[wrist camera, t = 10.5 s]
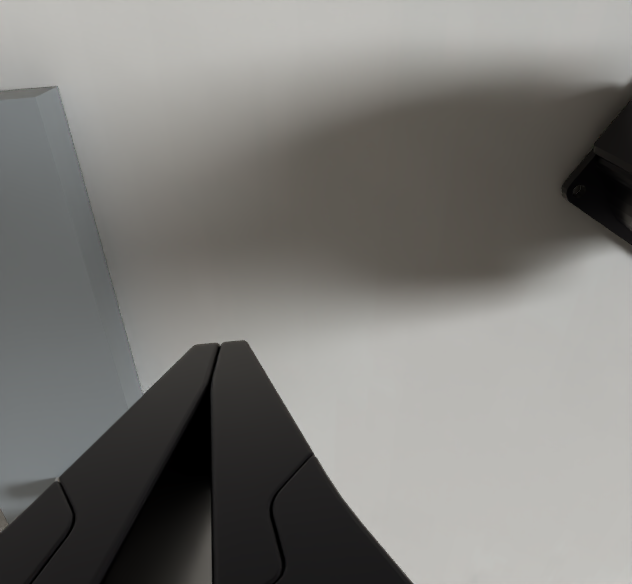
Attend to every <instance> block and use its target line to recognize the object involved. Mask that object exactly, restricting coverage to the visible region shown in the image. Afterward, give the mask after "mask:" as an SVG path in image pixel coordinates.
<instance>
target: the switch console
mask: <svg viewBox="0 0 632 584" xmlns="http://www.w3.org/2000/svg"><path fill="white" fill-rule="evenodd" d="M142 396H143V394H142V390H141V386H140V383H139V379H138V375H137V372H136V368H135V365H134V361H133V357H132V354H131V350H130V347H129V343H128V339H127V336H126V332H125V329H124V325H123V321H122V318H121V314H120V310H119V307H118V303H117V300H116V296H115V292H114V289H113V285H112V282H111V278H110V274H109V271H108V267H107V263H106V260H105V256H104V253H103V249H102V245H101V242H100V238H99V235H98V231H97V227H96V224H95V220H94V217H93V213H92V209H91V206H90V202H89V198H88V195H87V191H86V188H85V184H84V180H83V177H82V173H81V170H80V166H79V162H78V159H77V155H76V152H75V148H74V144H73V141H72V137H71V133H70V130H69V126H68V123H67V119H66V115H65V112H64V108H63V105H62V101H61V97H60V94H59V90H58V86H57V87H44V88H31V89H18V90H6V91H0V508H1V510H2V512H3V514H4V516H5V518H6V520H7V522H8V524H10V523H11V522H12V521H13V520H14V519H15V518H16V517H18V516H19V515H20V514H21V513H22V512H23V511H24V510H25V509H26V508H27V507H28V506H29V505H30V504H31V503H33V502H34V501H35V500H36V499H37V498H38V497H39V496H40V495H41V494H42V493H43V492H44V491H45V490H46V489H47V488H48V487H49V486H50V485H51V484H52V483H53V482H55V481H58V482H59V480H58V479H59V477H60V476H61V475H62V474H63V473H64V472H65V471H66V470H67V469H68V468H69V467H70V466H71V465H72V464H73V463H74V462H75V461H76V460H77V459H78V458H79V457H80V456H81V455H82V454H83V453H84V452H85V451H86V450H87V449H88V448H89V447H90V446H91V445H92V444H93V443H94V442H95V441H97V440H98V439H99V438H100V437H101V436H102V435H103V434H104V433H105V432H106V431H107V430H108V429H109V428H110V427H111V426H112V425H113V424H114V423H115V422H116V421H117V420H118V419H119V418H120V417H121V416H122V415H123V414H124V413H125V412H126V411H127V410H128V409H129V408H130V407H131V406H132V405H133V404H134V403H135V402H136V401H138V400H139V399H140V398H141V397H142Z"/></svg>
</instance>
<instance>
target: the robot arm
mask: <svg viewBox="0 0 632 584" xmlns="http://www.w3.org/2000/svg"><path fill="white" fill-rule="evenodd" d="M578 185H581V189H580V191H579V192H578V193H576V194H573V190H574V188H575V187H576V186H578ZM562 195H563V197H564V198H565V199H566V200H568V201H569V202H570V203H572V204H573V205H575V206H576V207H578V208H579V209H581V210H582V211H583V212H585V213H586V214H588V215H589V216H591V217H592V218H593V219H595V220H596V221H598V222H599V223H601V224H602V225H604V226H605V227H606V228H608V229H609V230H611V231H612V232H614V233H615V234H617V235H618V236H619V237H621V238H622V239H624V240H625V241H627V242H628V243H629V244H631V245H632V100H631V101H630V102H629V103H628V105H627V106H626V107H625V108H624V109H623V111H622V112H621V113H620V114H619V115H618V116H617V118H616V119H615V120H614V121H613V122H612V124H611V125H610V126H609V127H608V128H607V129H606V131H605V132H604V133H603V134H602V135H601V137H600V138H599V139H598V140H597V141H596V142H595V145H594V148H593V149H592V151H591V152H590V153H589V154H588V155H587V157H586V158H585V159H584V160H583V161H582V162H581V164H580V165H579V166H578V167H577V168H576V170H575V171H574V172H573V173H572V174H571V175H570V177H569V178H568V179H567V180H566V181H565V183H564V184H563V186H562ZM58 480H59V482H58V481H55V482H53V483H52V484H51V485H50V486H49V487H48V488H47V489H46V490H45V491H44V492H43V493H42V494H41V495H40V496H39V497H38V498H37V499H36V500H35V501H34V502H33V503H31V504H30V505H29V506H28V507H27V508H26V509H25V510H24V511H23V512H22V513H21V514H20V515H19V516H18V517H16V518H15V519H14V520H13V521H12V522H11V523H10V524H9V525H8V526H7V527H6V528H5V529H4V530H2V531H1V532H0V584H413V583H412V582H411V580H410V579H409V578H408V577H407V576H406V574H405V573H404V572H403V571H402V570H401V569H400V567H399V566H398V565H397V564H396V563H395V561H394V560H393V559H392V558H391V557H390V556H389V554H388V553H387V552H386V551H385V550H384V548H383V547H382V546H381V545H380V544H379V543H378V541H377V540H376V539H375V538H374V537H373V535H372V534H371V533H370V532H369V531H368V530H367V528H366V527H365V526H364V525H363V524H362V522H361V521H360V520H359V518H358V517H357V516H356V515H355V513H354V512H353V511H352V510H351V508H350V507H349V506H348V504H347V503H346V502H345V501H344V499H343V498H342V497H341V495H340V494H339V492H338V491H337V489H336V488H335V486H334V485H333V483H332V482H331V480H330V478H329V477H328V475H327V474H326V472H325V471H324V469H323V467H322V466H321V464H320V462H319V461H318V459H317V458H316V457H315V455H314V453H313V451H312V449H311V448H310V446H309V444H308V443H307V441H306V439H305V438H304V436H303V434H302V433H301V431H300V429H299V428H298V426H297V424H296V423H295V421H294V419H293V418H292V416H291V414H290V413H289V411H288V409H287V408H286V406H285V404H284V403H283V401H282V399H281V398H280V396H279V394H278V393H277V391H276V389H275V388H274V386H273V384H272V383H271V381H270V379H269V378H268V376H267V374H266V373H265V371H264V369H263V368H262V366H261V364H260V363H259V361H258V359H257V358H256V356H255V354H254V353H253V351H252V349H251V348H250V346H249V344H248V343H247V342H246V341H244V340H241V341H230V342H224V343H222V344H221V346H220V344H218V343H209V344H197V345H194V346H193V347H192V348H191V349H190V350H189V351H188V352H187V353H186V354H185V355H184V356H183V357H182V358H181V359H180V360H179V361H177V362H176V363H175V364H174V365H173V366H172V367H171V368H170V369H169V370H168V371H167V372H166V373H165V374H164V375H163V376H162V377H161V378H160V379H159V380H158V381H157V382H156V383H155V384H154V385H153V386H152V387H151V388H150V389H149V390H148V391H147V392H146V393H145V394H144V395H143V396H142V397H141V398H140V399H139V400H138V401H136V402H135V403H134V404H133V405H132V406H131V407H130V408H129V409H128V410H127V411H126V412H125V413H124V414H123V415H122V416H121V417H120V418H119V419H118V420H117V421H116V422H115V423H114V424H113V425H112V426H111V427H110V428H109V429H108V430H107V431H106V432H105V433H104V434H103V435H102V436H101V437H100V438H99V439H98V440H97V441H95V442H94V443H93V444H92V445H91V446H90V447H89V448H88V449H87V450H86V451H85V452H84V453H83V454H82V455H81V456H80V457H79V458H78V459H77V460H76V461H75V462H74V463H73V464H72V465H71V466H70V467H69V468H68V469H67V470H66V471H65V472H64V473H63V474H62V475H61V476H60V477H59V479H58Z"/></svg>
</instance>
